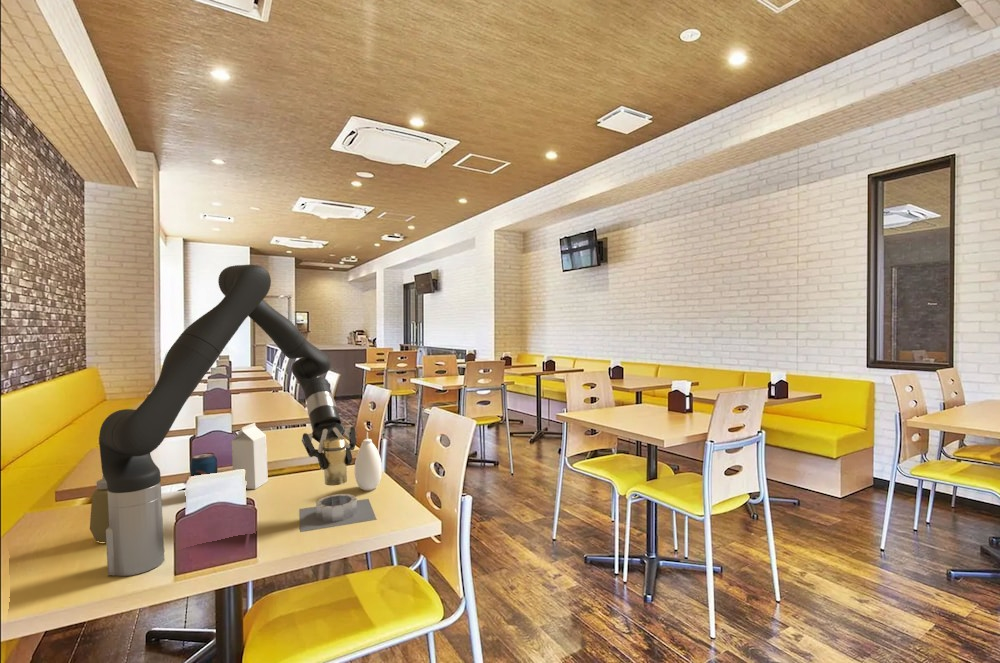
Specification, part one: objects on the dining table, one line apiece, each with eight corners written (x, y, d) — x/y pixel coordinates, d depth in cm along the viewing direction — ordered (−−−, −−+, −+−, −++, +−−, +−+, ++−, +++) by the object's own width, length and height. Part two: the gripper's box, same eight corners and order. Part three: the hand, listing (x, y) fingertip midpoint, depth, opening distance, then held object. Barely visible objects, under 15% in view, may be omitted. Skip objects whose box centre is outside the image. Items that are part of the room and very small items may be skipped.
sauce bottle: (385, 486, 157) (383, 427, 157) (378, 495, 150) (376, 433, 149) (360, 486, 158) (358, 428, 157) (351, 495, 150) (349, 434, 149)
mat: (300, 535, 123) (299, 532, 123) (299, 511, 138) (299, 508, 138) (376, 522, 130) (376, 519, 130) (368, 501, 145) (368, 498, 145)
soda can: (186, 499, 150) (184, 458, 149) (201, 491, 157) (199, 452, 156) (208, 499, 149) (206, 458, 149) (223, 491, 156) (221, 452, 156)
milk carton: (268, 481, 164) (265, 422, 164) (255, 489, 157) (252, 427, 157) (247, 481, 165) (244, 422, 164) (233, 489, 158) (230, 427, 157)
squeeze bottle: (97, 535, 126) (94, 462, 126) (136, 529, 129) (133, 458, 129) (84, 549, 119) (80, 471, 118) (126, 542, 122) (122, 466, 121)
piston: (324, 486, 130) (323, 443, 130) (323, 480, 136) (322, 438, 135) (348, 483, 132) (346, 441, 132) (346, 477, 138) (344, 436, 137)
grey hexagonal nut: (317, 524, 128) (316, 510, 128) (315, 510, 137) (315, 497, 137) (358, 517, 131) (358, 504, 131) (354, 504, 141) (354, 491, 140)
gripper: (297, 407, 135) (310, 463, 126) (351, 400, 143) (367, 452, 134) (293, 423, 140) (306, 479, 131) (346, 416, 148) (361, 468, 138)
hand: (337, 465), depth 132 cm, fingers closed on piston, 5 cm apart
